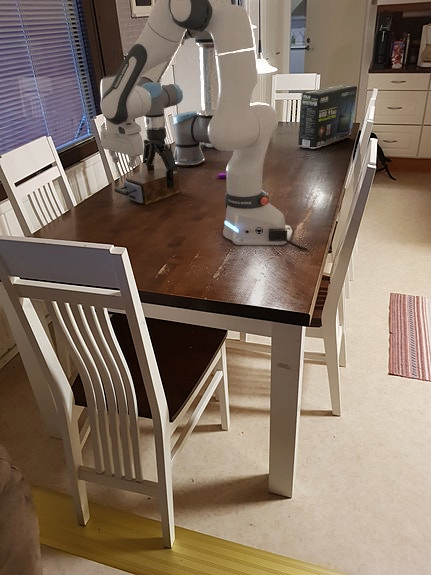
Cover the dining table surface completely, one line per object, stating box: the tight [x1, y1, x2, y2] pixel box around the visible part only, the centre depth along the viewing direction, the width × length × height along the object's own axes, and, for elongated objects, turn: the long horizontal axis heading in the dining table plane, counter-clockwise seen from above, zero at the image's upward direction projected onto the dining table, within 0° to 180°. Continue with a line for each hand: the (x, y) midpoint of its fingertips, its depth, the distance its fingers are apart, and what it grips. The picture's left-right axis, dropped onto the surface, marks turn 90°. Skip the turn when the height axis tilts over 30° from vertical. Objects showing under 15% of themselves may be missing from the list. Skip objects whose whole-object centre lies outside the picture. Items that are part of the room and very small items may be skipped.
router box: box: [297, 84, 358, 151], centre depth 238 cm, size 36×11×27 cm, turn 134°
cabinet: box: [125, 167, 181, 206], centre depth 182 cm, size 18×11×8 cm, turn 136°
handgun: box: [217, 172, 226, 179], centre depth 193 cm, size 21×8×2 cm, turn 11°
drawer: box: [114, 180, 144, 204], centre depth 179 cm, size 22×10×6 cm, turn 136°
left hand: (161, 184), depth 184 cm, fingers closed on cabinet, 11 cm apart
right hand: (123, 164), depth 167 cm, fingers open, 8 cm apart
